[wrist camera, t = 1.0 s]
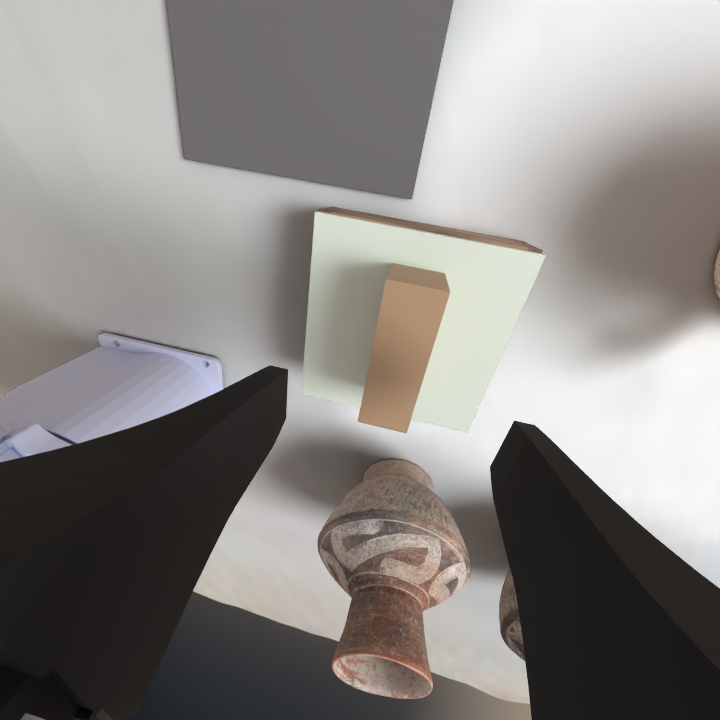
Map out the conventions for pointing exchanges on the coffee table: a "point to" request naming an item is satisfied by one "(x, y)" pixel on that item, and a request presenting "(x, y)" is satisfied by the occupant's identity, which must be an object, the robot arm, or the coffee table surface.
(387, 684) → the pottery
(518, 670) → the coffee table surface
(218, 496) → the robot arm
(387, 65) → the mat
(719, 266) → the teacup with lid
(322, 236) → the lid
